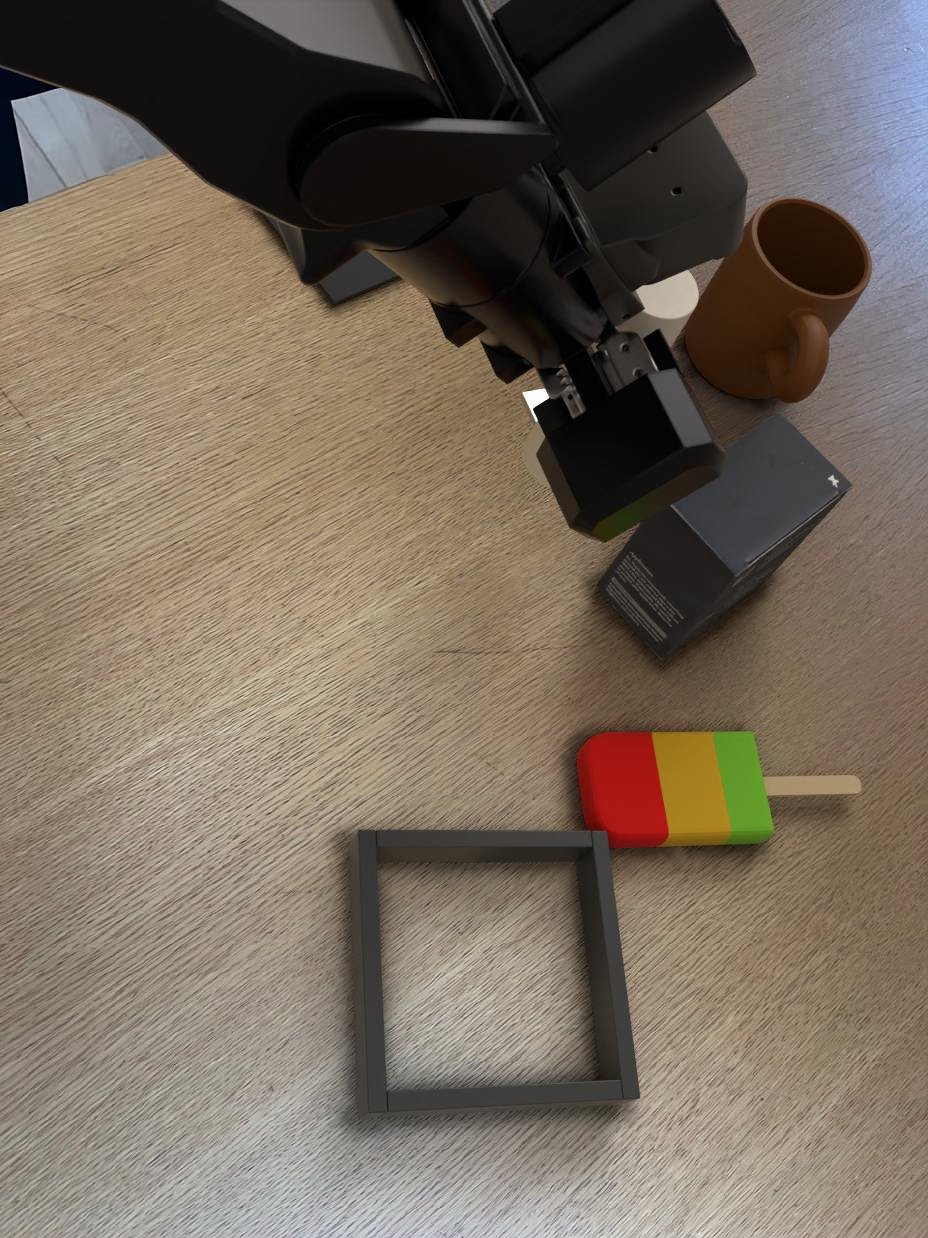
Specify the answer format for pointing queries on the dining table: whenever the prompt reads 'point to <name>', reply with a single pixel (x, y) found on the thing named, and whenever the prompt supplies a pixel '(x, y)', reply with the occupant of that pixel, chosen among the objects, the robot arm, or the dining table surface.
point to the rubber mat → (350, 274)
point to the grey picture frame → (601, 959)
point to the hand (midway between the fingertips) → (628, 375)
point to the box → (722, 536)
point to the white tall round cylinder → (663, 310)
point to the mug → (779, 301)
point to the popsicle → (686, 788)
